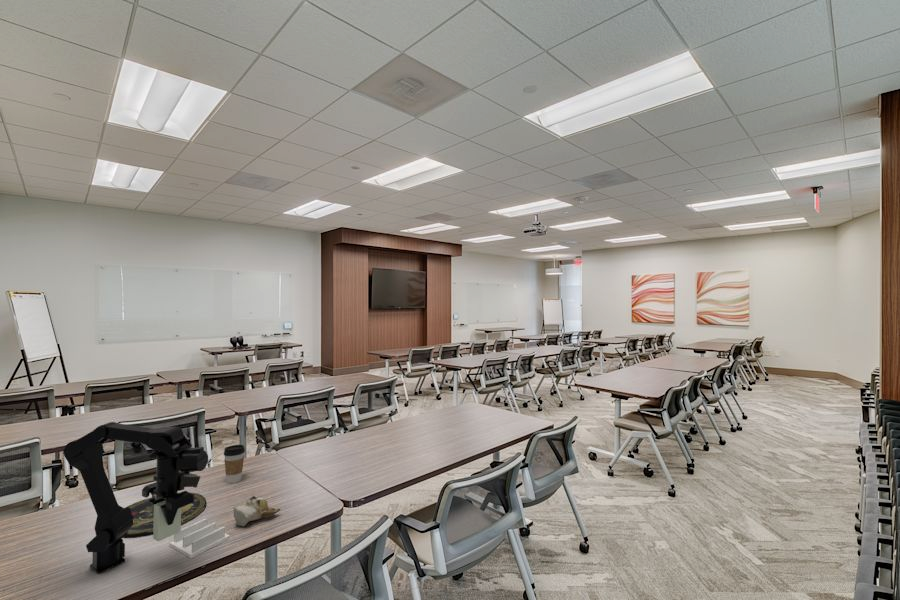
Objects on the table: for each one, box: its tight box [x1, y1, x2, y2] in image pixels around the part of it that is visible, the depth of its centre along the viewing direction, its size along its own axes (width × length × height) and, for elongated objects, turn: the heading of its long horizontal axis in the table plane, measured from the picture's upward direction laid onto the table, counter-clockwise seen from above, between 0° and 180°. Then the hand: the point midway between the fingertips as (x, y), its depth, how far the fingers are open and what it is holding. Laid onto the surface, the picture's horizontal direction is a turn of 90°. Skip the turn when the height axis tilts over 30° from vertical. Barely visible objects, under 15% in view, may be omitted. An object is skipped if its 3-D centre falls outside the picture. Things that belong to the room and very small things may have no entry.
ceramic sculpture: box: [233, 495, 281, 527], centre depth 143 cm, size 11×9×15 cm
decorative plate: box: [122, 492, 207, 539], centre depth 146 cm, size 30×2×30 cm
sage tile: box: [152, 500, 182, 542], centre depth 118 cm, size 6×3×10 cm, turn 150°
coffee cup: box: [223, 444, 246, 484], centre depth 175 cm, size 8×8×15 cm
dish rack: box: [168, 517, 230, 559], centre depth 129 cm, size 12×13×4 cm
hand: (167, 523), depth 118 cm, fingers closed on sage tile, 3 cm apart
